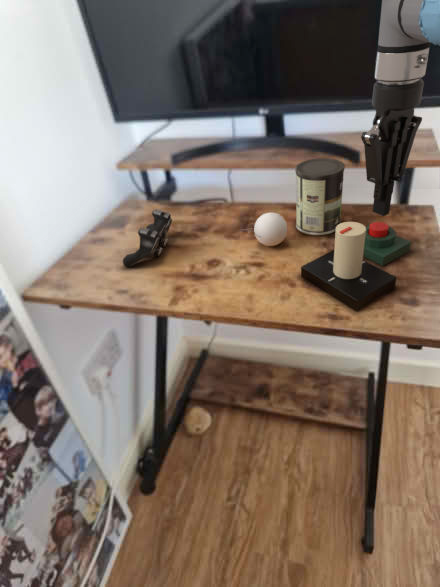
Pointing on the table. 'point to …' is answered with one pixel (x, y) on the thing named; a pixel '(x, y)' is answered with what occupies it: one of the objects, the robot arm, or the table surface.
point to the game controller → (150, 238)
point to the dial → (349, 249)
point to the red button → (378, 229)
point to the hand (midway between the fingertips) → (380, 212)
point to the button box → (385, 247)
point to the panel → (348, 282)
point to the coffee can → (319, 195)
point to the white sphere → (270, 229)
